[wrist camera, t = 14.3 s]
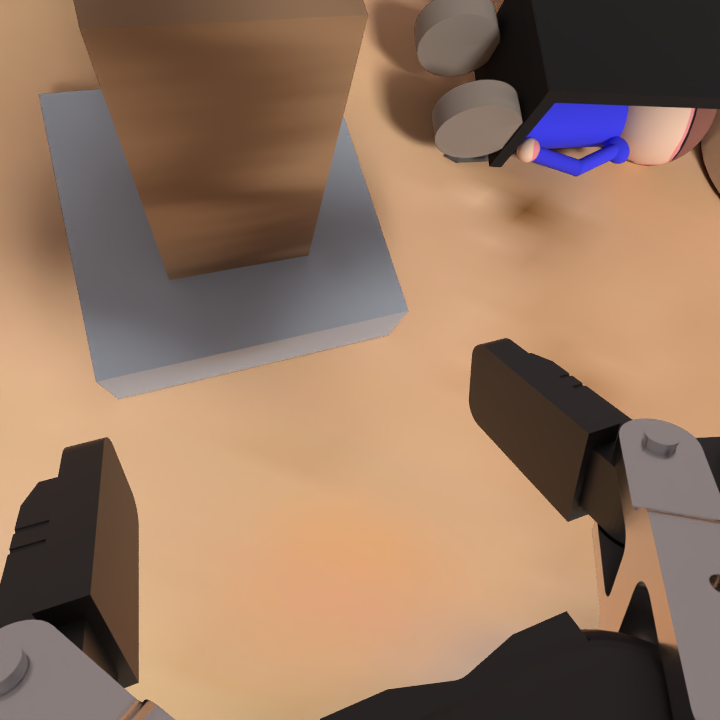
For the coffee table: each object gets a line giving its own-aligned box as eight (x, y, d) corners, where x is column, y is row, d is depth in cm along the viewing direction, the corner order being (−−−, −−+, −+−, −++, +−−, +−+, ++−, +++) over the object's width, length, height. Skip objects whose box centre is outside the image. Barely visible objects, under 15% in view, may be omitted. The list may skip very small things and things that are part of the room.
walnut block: (274, 140, 20) (299, -180, 11) (308, 255, 19) (367, 15, 10) (140, 156, 19) (31, -197, 9) (169, 280, 18) (79, 28, 8)
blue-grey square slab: (318, 120, 24) (328, 69, 21) (387, 335, 22) (408, 311, 19) (66, 148, 21) (38, 93, 18) (118, 399, 19) (95, 381, 16)
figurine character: (413, 212, 26) (686, 197, 28) (454, 99, 18) (823, 89, 20) (395, 99, 27) (654, 91, 29) (426, -46, 20) (770, -44, 22)
